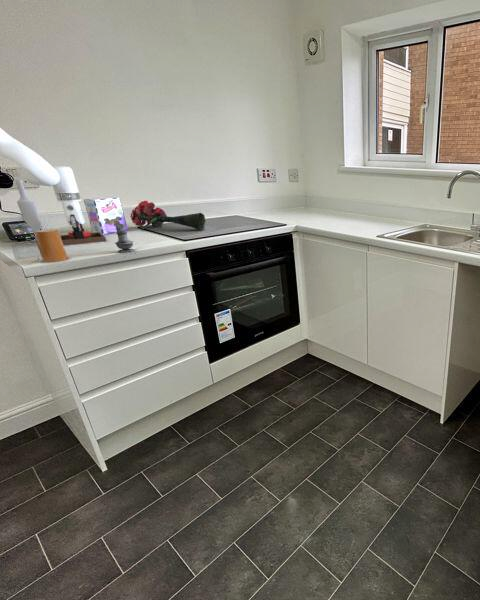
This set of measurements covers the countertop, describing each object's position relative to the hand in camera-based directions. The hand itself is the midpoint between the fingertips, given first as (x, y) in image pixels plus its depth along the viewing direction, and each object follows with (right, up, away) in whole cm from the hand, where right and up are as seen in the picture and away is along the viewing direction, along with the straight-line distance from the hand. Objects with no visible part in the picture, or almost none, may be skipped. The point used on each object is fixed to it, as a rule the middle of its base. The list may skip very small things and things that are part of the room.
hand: (80, 238), depth 154 cm
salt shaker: (+31, -8, -13) cm, 35 cm away
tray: (0, -1, 0) cm, 1 cm away
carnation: (+19, +11, +33) cm, 39 cm away
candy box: (-3, +7, +20) cm, 21 cm away
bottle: (-17, -1, -1) cm, 17 cm away
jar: (+16, -13, -28) cm, 35 cm away
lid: (0, +3, -1) cm, 3 cm away
